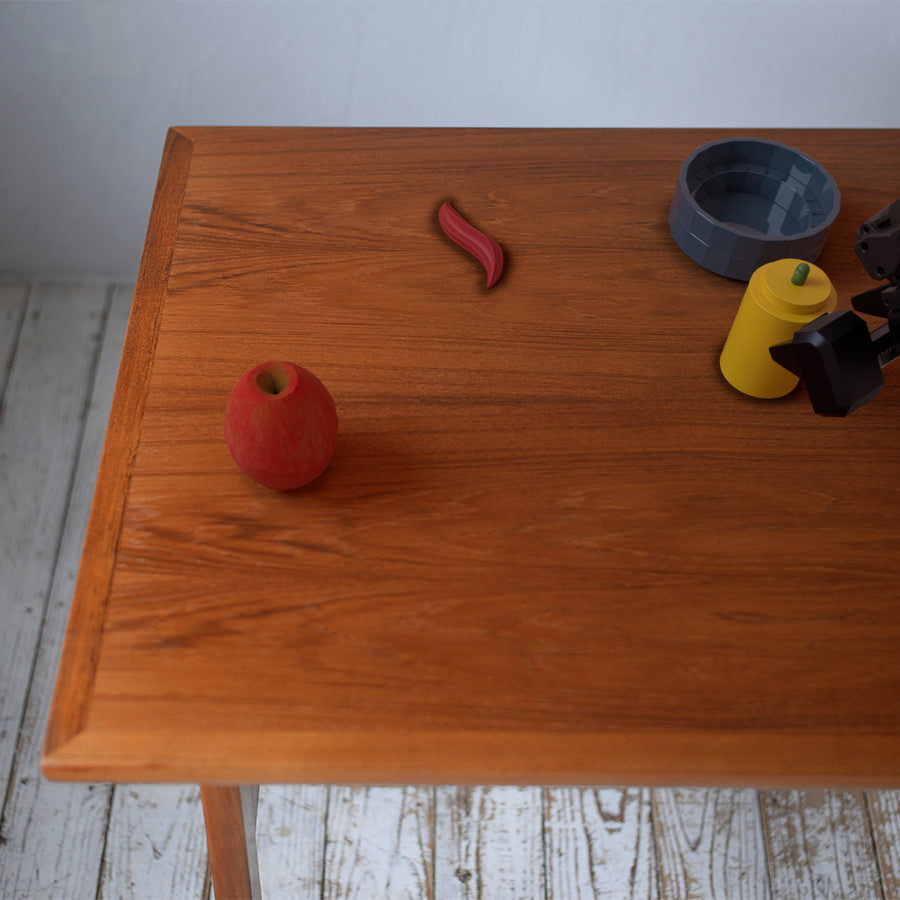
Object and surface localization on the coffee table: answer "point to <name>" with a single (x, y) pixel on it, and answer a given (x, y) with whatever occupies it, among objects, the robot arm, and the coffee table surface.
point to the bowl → (751, 205)
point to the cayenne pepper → (472, 241)
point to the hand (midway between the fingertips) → (813, 327)
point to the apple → (281, 425)
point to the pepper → (773, 324)
